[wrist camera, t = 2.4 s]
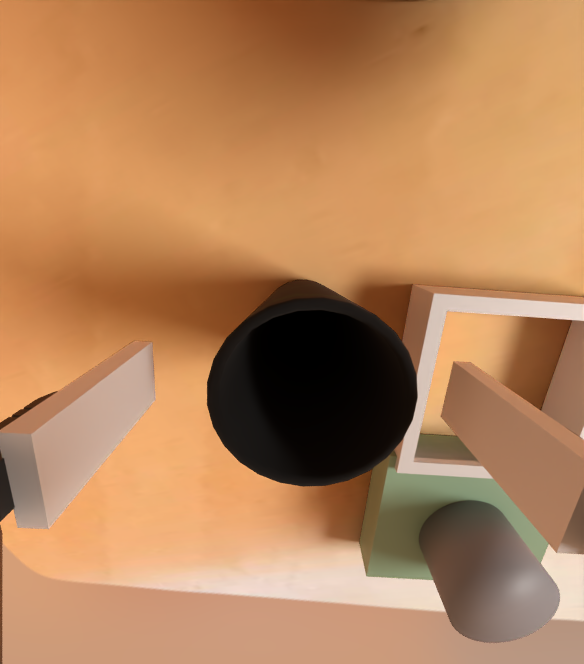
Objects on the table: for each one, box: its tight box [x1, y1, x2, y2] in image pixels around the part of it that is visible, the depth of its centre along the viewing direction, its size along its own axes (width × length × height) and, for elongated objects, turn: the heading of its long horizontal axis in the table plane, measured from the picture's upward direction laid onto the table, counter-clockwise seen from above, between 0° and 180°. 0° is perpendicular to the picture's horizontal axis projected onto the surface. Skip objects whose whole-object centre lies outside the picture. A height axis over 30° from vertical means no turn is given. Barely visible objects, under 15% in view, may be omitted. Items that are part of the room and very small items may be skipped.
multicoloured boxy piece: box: [359, 284, 584, 643], centre depth 22 cm, size 24×14×8 cm, turn 176°
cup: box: [207, 280, 418, 486], centre depth 17 cm, size 8×8×12 cm
